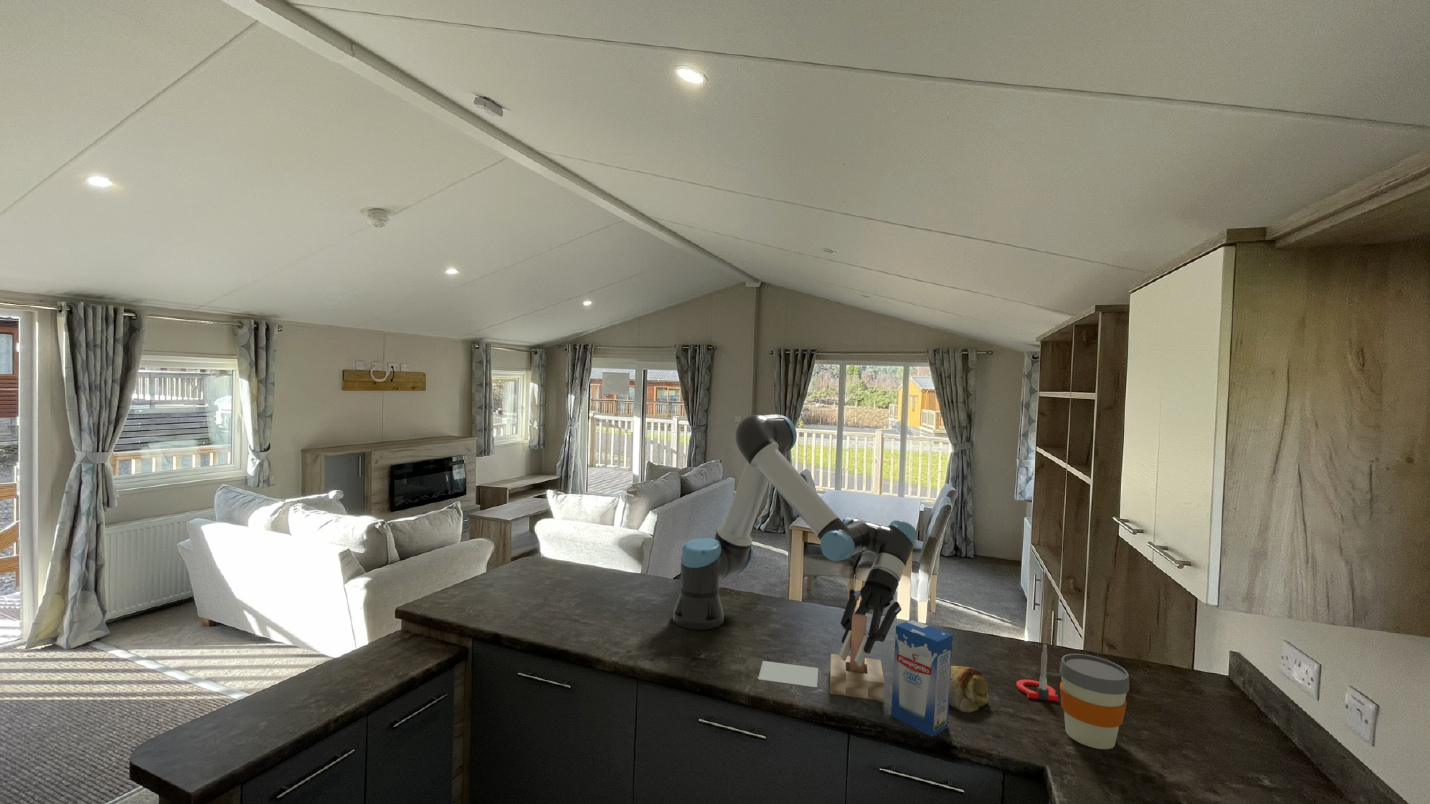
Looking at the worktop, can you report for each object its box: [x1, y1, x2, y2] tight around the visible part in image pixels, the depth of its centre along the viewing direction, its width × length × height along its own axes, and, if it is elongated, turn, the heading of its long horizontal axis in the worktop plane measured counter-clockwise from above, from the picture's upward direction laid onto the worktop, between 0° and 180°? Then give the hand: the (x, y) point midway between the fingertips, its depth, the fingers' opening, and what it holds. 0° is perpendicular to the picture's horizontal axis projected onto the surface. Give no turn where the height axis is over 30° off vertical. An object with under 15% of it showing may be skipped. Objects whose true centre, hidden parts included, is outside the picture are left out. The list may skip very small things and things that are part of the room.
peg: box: [849, 613, 868, 673], centre depth 145 cm, size 3×3×14 cm
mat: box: [757, 660, 819, 688], centre depth 149 cm, size 14×10×1 cm
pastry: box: [949, 665, 990, 714], centre depth 142 cm, size 14×12×8 cm
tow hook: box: [1015, 643, 1059, 702], centre depth 147 cm, size 8×13×9 cm
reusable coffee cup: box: [1058, 653, 1130, 750], centre depth 128 cm, size 13×13×15 cm
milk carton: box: [890, 619, 954, 738], centre depth 130 cm, size 10×6×20 cm, turn 40°
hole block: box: [829, 653, 885, 703], centre depth 145 cm, size 12×12×4 cm
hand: (849, 660), depth 142 cm, fingers closed on peg, 3 cm apart
